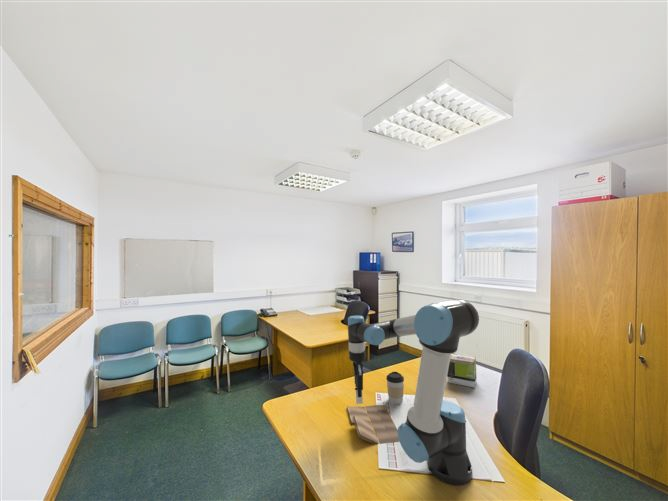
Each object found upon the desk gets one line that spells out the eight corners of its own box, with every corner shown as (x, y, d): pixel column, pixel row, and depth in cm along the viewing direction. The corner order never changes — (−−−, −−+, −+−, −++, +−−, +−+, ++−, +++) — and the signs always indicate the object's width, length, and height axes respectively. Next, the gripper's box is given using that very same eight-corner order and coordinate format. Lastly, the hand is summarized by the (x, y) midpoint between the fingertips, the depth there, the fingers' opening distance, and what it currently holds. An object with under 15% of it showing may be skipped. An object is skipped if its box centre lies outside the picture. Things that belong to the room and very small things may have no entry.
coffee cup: (405, 408, 144) (404, 378, 144) (386, 406, 146) (386, 377, 146) (404, 398, 153) (403, 371, 153) (387, 397, 155) (386, 370, 155)
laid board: (403, 444, 118) (403, 441, 118) (379, 446, 117) (379, 443, 117) (384, 407, 146) (384, 404, 146) (365, 408, 145) (365, 406, 145)
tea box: (476, 381, 170) (476, 356, 170) (474, 388, 162) (474, 362, 162) (450, 376, 178) (449, 352, 178) (446, 382, 170) (446, 357, 170)
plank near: (377, 446, 117) (379, 443, 117) (358, 436, 116) (360, 433, 116) (369, 425, 130) (371, 423, 130) (352, 417, 129) (354, 414, 130)
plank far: (370, 425, 131) (370, 422, 131) (351, 425, 130) (351, 422, 130) (364, 409, 144) (364, 406, 144) (347, 408, 143) (347, 406, 143)
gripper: (368, 354, 123) (370, 409, 123) (362, 345, 136) (364, 395, 136) (351, 356, 122) (353, 411, 122) (347, 346, 135) (349, 396, 135)
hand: (359, 402), depth 129 cm, fingers closed
